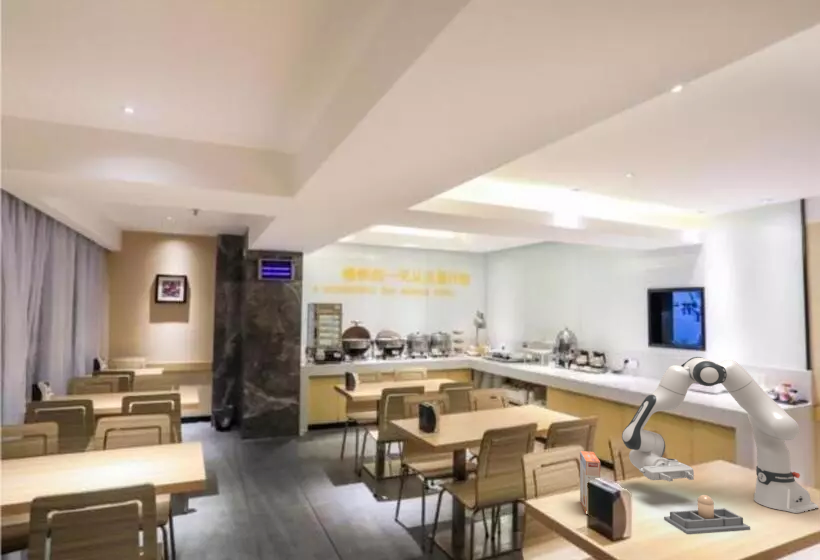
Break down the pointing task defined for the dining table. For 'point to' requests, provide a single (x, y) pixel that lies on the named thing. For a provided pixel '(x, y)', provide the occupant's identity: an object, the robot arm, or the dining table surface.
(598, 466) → the cracker box
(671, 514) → the grey compartment tray
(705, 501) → the tan domed cylinder
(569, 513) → the dining table surface
